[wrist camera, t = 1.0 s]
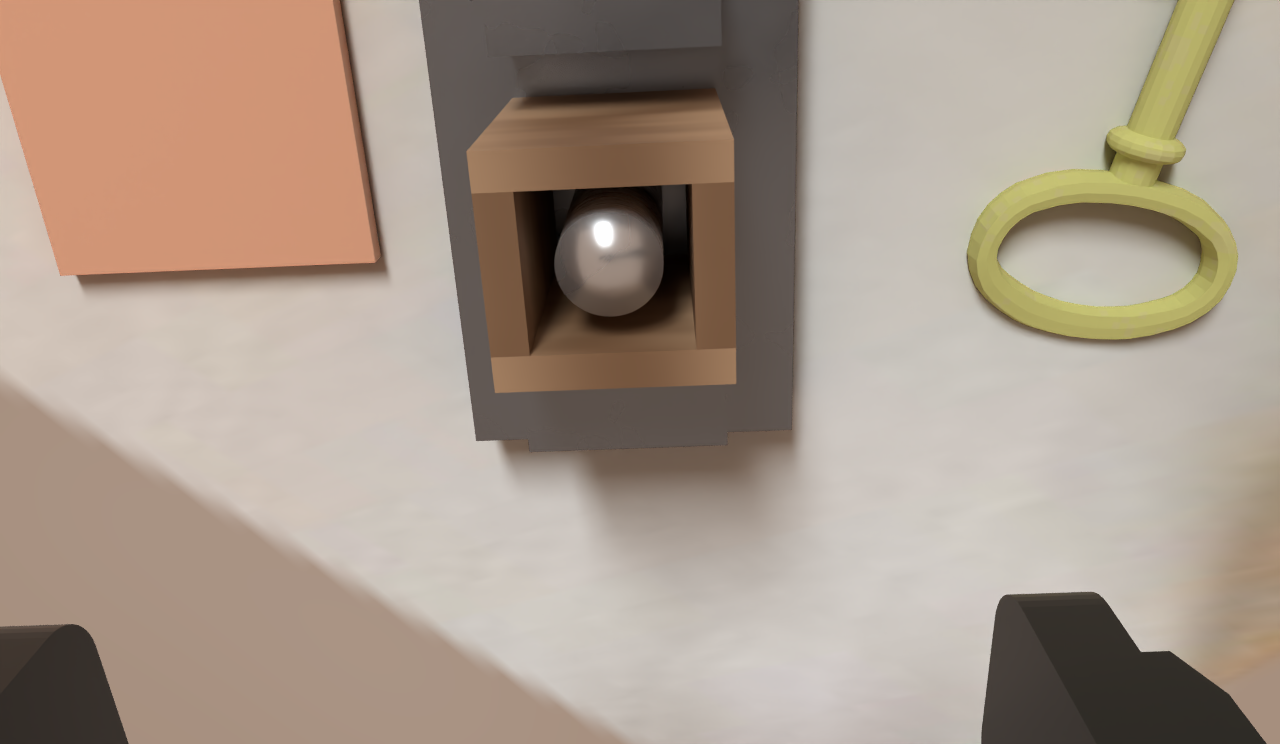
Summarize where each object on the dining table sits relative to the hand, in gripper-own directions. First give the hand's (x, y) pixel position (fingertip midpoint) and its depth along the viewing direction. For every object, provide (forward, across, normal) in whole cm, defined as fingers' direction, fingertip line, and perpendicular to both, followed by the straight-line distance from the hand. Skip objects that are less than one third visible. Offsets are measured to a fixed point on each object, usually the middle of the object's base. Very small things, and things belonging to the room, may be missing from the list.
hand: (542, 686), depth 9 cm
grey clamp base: (+20, 0, 0) cm, 20 cm away
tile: (+20, +11, -2) cm, 23 cm away
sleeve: (+18, 0, 0) cm, 18 cm away
